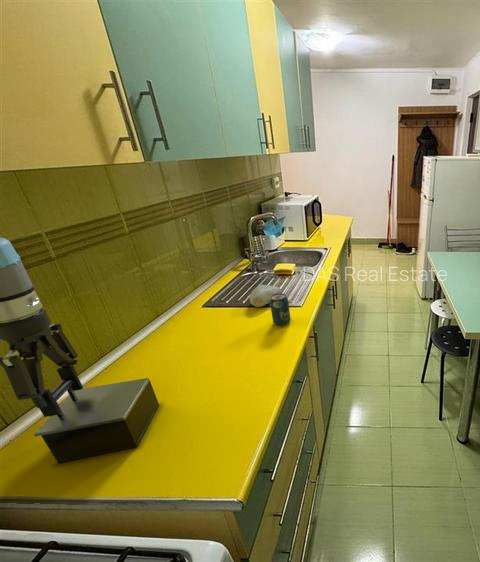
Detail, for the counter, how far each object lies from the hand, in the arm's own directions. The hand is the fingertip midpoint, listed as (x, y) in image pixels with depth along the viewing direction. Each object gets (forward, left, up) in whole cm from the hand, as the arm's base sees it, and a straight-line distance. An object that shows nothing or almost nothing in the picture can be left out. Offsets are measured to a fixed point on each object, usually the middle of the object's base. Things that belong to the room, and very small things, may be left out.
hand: (64, 401), depth 70 cm
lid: (+3, +5, -3) cm, 6 cm away
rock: (-37, +67, -12) cm, 78 cm away
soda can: (-13, +62, -12) cm, 65 cm away
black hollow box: (+3, +5, -12) cm, 13 cm away
